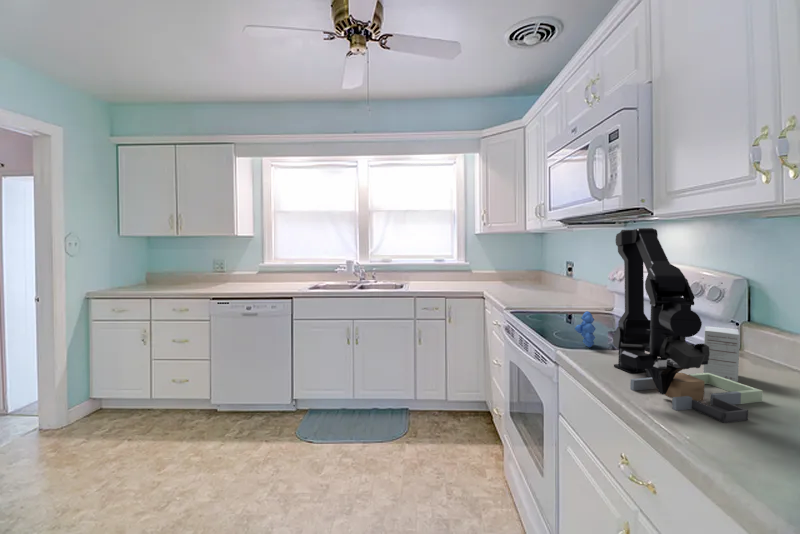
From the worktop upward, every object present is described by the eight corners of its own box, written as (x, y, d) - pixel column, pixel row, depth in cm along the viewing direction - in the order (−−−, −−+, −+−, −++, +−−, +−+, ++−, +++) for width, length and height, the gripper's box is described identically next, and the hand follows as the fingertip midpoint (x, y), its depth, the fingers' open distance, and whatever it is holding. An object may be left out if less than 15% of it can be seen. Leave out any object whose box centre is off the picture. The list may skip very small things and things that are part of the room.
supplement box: (703, 369, 114) (705, 325, 113) (737, 375, 109) (739, 329, 109) (702, 376, 108) (704, 330, 108) (738, 382, 104) (740, 333, 103)
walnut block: (659, 392, 97) (660, 374, 97) (681, 390, 98) (682, 372, 98) (680, 402, 91) (681, 382, 91) (703, 400, 92) (704, 380, 92)
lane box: (610, 379, 106) (610, 370, 106) (683, 373, 111) (684, 364, 111) (706, 424, 80) (707, 412, 80) (798, 414, 84) (798, 402, 84)
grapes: (571, 341, 148) (572, 308, 147) (591, 342, 146) (592, 309, 145) (576, 349, 136) (577, 314, 136) (598, 350, 135) (599, 315, 134)
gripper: (658, 337, 83) (655, 411, 84) (733, 333, 86) (730, 404, 87) (619, 326, 94) (617, 392, 95) (687, 323, 97) (684, 386, 98)
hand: (662, 393), depth 94 cm, fingers closed
